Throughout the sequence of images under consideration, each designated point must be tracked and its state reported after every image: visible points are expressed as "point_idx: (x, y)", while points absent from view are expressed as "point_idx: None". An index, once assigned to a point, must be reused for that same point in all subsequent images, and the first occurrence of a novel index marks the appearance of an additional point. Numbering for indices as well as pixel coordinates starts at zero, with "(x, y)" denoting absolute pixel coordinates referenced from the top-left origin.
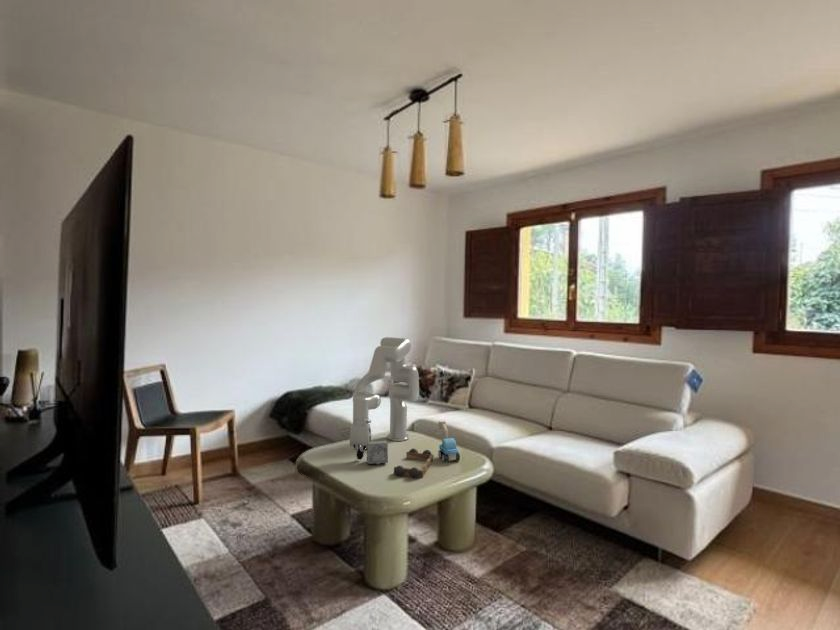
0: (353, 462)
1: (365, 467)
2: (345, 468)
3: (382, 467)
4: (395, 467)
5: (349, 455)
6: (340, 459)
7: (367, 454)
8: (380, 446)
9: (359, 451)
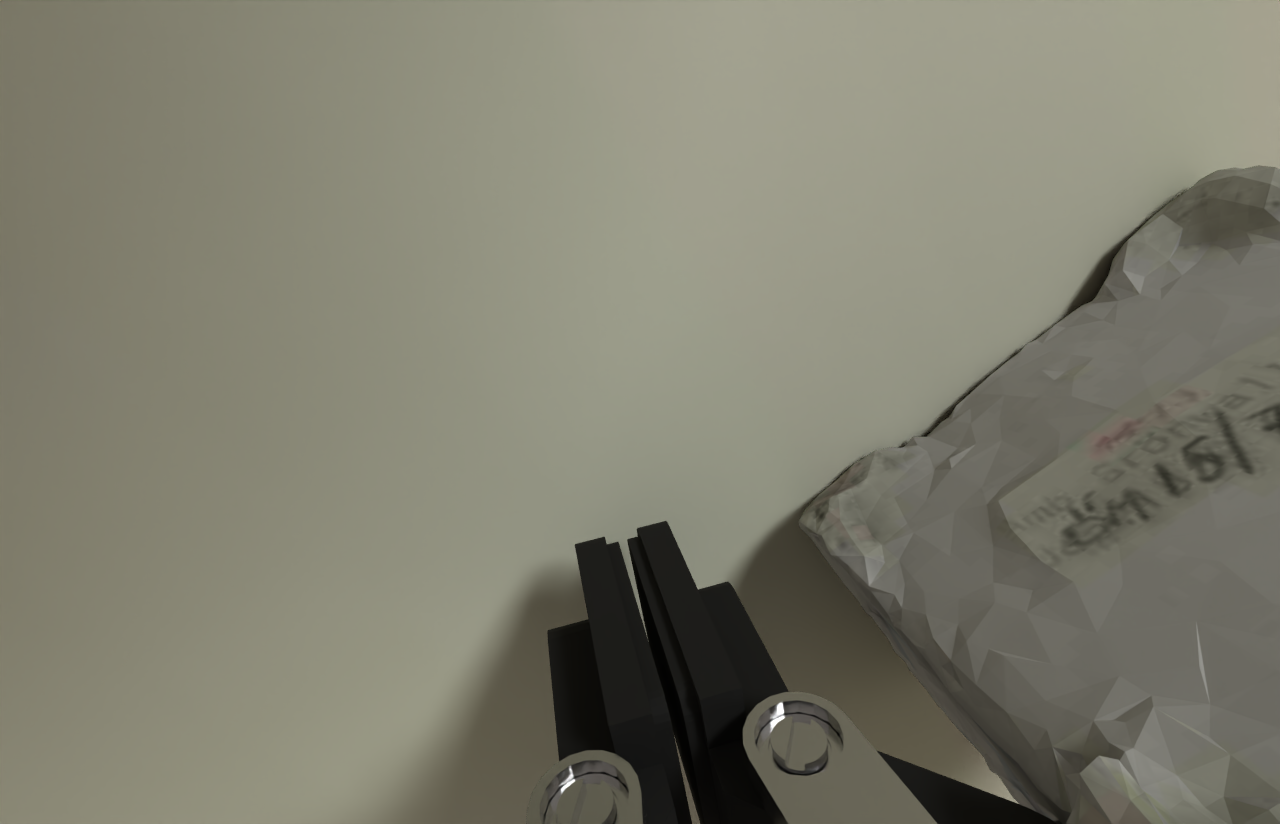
0: (545, 702)
1: (897, 738)
2: None
3: None
4: None
5: (40, 397)
6: (113, 746)
7: (1002, 776)
8: None
9: (690, 818)
